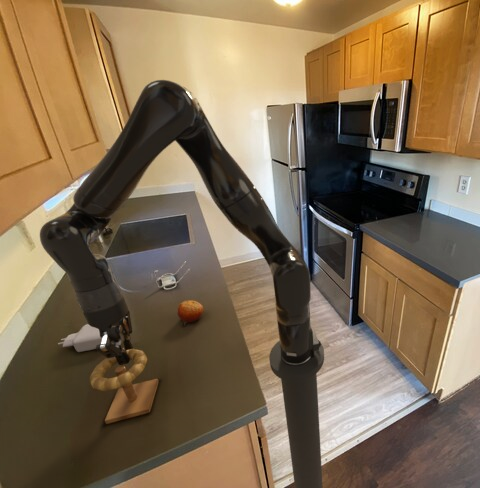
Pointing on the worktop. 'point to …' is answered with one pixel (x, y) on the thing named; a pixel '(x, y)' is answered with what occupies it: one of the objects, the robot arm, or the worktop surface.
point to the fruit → (190, 311)
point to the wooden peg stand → (131, 399)
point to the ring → (121, 380)
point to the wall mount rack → (169, 279)
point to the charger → (83, 339)
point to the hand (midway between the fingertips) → (126, 357)
